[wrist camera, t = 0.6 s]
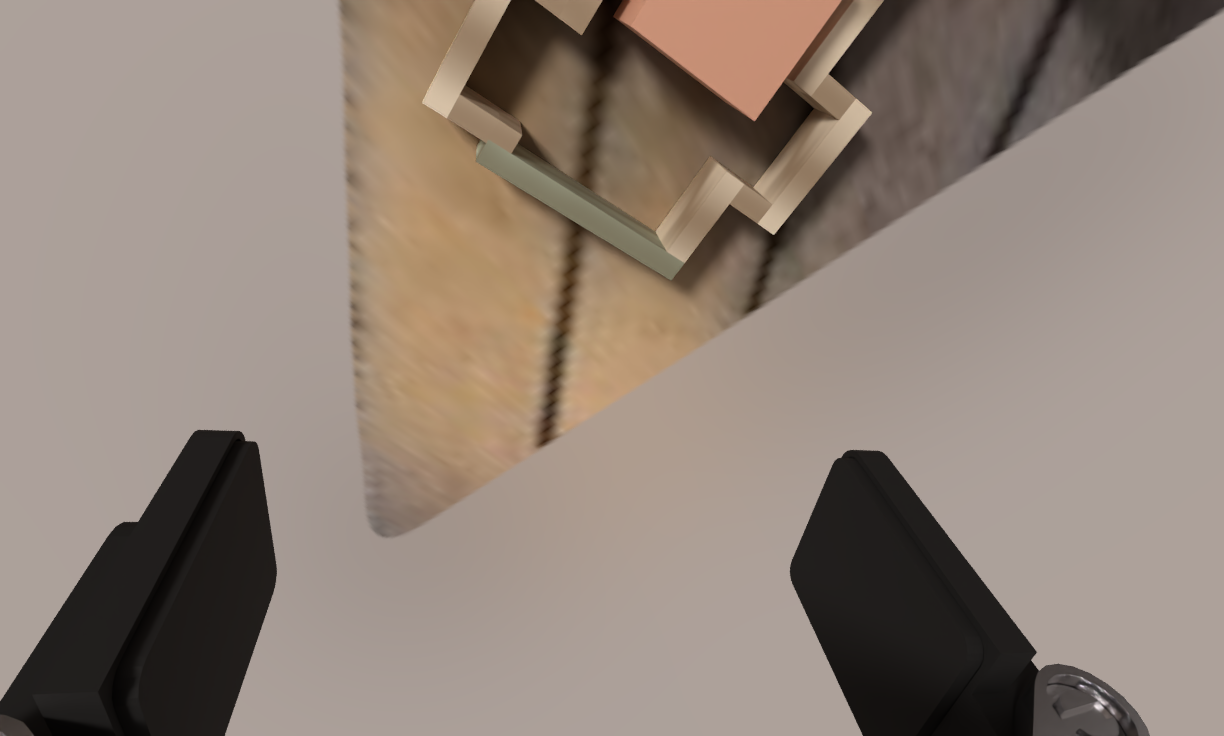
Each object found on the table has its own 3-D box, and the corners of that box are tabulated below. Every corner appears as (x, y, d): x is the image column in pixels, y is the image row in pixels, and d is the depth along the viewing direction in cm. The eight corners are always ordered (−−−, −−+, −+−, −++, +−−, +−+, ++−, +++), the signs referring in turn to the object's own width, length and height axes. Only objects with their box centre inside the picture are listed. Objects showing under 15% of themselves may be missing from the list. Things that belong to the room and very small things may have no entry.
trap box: (717, -467, 24) (744, -516, 21) (1005, -105, 31) (1050, -109, 29) (417, 109, 32) (411, 122, 30) (701, 285, 40) (715, 307, 37)
